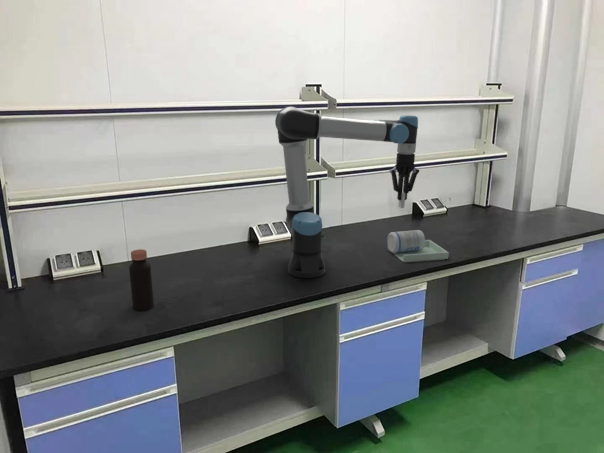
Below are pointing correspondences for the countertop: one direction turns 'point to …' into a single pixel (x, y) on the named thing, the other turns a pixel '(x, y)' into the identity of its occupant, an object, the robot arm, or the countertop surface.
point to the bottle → (141, 281)
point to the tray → (424, 253)
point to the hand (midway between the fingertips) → (401, 207)
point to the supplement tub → (406, 241)
